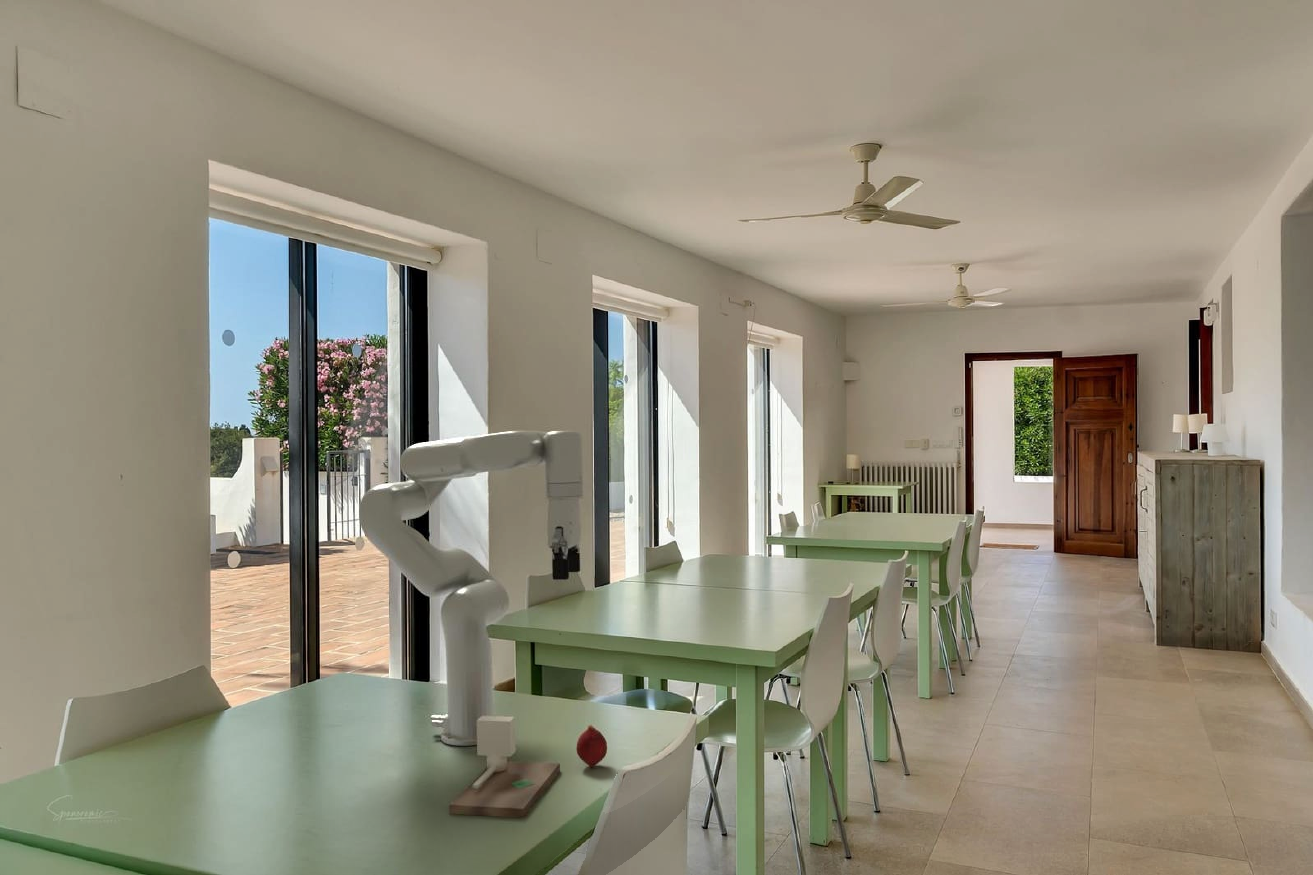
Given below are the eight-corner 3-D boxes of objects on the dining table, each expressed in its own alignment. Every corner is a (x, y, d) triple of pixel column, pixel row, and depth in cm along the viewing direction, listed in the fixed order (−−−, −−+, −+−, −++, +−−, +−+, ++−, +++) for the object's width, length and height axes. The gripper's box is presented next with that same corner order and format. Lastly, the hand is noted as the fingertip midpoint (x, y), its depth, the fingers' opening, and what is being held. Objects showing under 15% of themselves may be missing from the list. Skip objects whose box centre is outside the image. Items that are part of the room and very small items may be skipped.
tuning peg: (484, 764, 170) (483, 715, 170) (516, 765, 169) (515, 716, 169) (458, 789, 158) (456, 736, 158) (493, 791, 157) (491, 738, 157)
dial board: (449, 813, 153) (449, 804, 153) (494, 768, 173) (494, 759, 173) (523, 817, 150) (523, 808, 150) (559, 771, 171) (559, 762, 171)
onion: (612, 762, 175) (611, 721, 175) (600, 773, 169) (599, 730, 169) (584, 760, 177) (583, 718, 177) (572, 770, 171) (570, 728, 171)
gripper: (557, 489, 194) (559, 569, 194) (534, 494, 177) (537, 582, 177) (591, 488, 193) (593, 569, 193) (572, 494, 176) (574, 582, 176)
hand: (566, 575), depth 185 cm, fingers open, 9 cm apart
